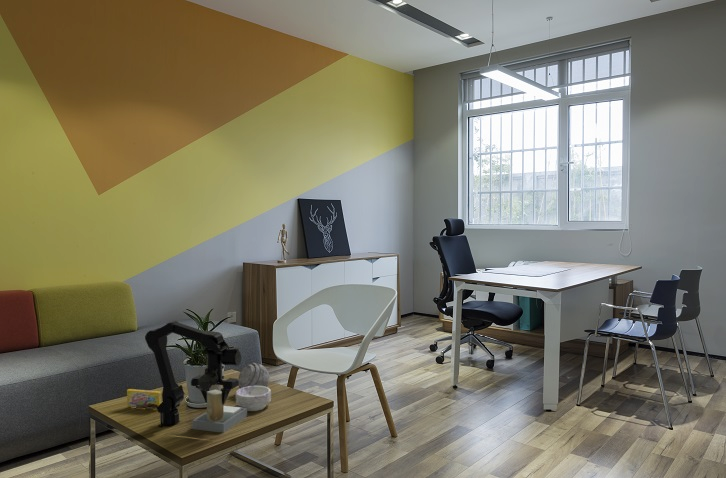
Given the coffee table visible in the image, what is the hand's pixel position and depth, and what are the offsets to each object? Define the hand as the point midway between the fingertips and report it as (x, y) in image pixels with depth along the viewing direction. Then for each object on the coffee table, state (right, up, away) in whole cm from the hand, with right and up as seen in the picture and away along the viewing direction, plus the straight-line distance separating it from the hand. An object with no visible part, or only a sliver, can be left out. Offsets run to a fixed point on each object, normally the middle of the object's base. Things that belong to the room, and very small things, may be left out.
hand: (215, 403), depth 211 cm
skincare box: (0, -8, 0) cm, 8 cm away
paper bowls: (+11, -9, +22) cm, 26 cm away
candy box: (-38, -10, +23) cm, 45 cm away
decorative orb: (+7, -9, +40) cm, 42 cm away
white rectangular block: (+3, -9, +8) cm, 12 cm away
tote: (+1, -9, +4) cm, 10 cm away
